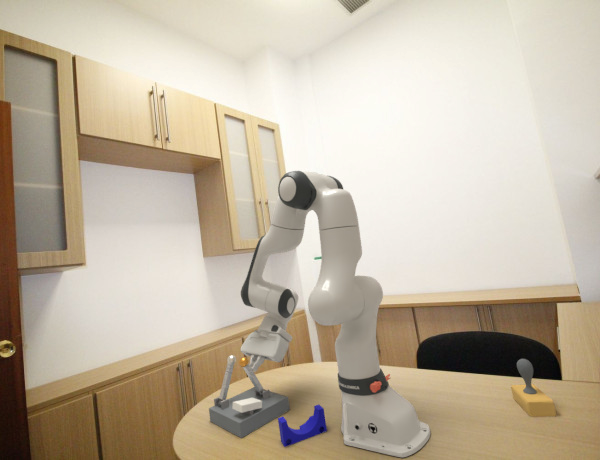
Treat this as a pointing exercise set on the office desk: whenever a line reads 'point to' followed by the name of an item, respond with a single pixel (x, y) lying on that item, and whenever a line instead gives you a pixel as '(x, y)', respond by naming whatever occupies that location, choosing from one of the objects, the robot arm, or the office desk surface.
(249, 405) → the white rectangular block
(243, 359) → the lever orange
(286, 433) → the cable clip
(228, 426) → the panel
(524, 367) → the rubber stamp
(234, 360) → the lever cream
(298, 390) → the office desk surface
